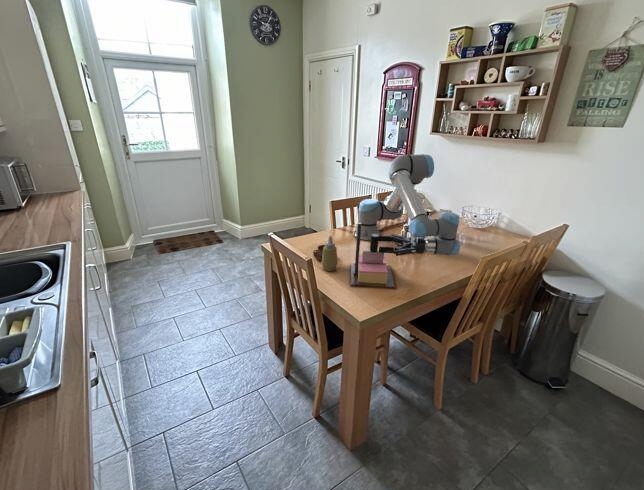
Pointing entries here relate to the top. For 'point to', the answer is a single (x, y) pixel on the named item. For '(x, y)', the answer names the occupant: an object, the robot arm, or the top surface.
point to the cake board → (374, 285)
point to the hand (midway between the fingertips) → (377, 243)
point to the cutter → (373, 252)
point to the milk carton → (441, 215)
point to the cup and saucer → (319, 252)
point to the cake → (372, 272)
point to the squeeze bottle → (329, 255)
